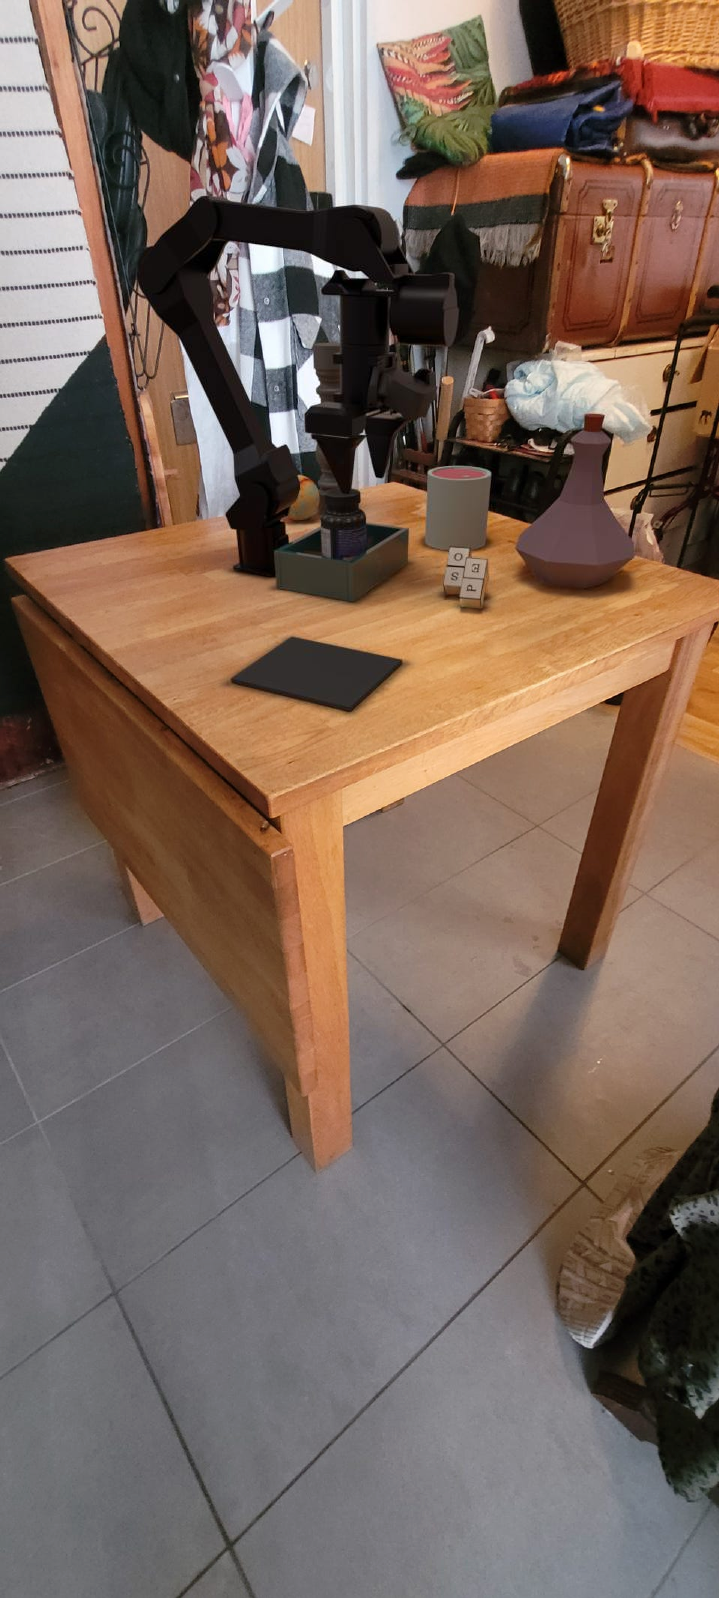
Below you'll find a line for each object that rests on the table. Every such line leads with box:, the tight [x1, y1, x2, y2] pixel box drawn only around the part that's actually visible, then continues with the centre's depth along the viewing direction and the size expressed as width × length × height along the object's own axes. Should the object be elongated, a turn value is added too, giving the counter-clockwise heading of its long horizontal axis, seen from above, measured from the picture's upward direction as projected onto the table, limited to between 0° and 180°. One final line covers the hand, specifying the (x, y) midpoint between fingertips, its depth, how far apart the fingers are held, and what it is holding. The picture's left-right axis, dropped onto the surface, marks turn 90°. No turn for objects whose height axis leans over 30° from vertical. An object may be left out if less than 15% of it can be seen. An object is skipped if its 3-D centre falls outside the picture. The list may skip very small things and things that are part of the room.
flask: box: [514, 413, 636, 590], centre depth 99 cm, size 16×16×20 cm
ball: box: [286, 474, 320, 521], centre depth 127 cm, size 7×7×7 cm
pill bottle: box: [319, 487, 367, 561], centre depth 103 cm, size 6×6×11 cm
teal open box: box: [274, 521, 410, 603], centre depth 104 cm, size 12×17×5 cm
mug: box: [424, 465, 492, 552], centre depth 117 cm, size 14×9×10 cm
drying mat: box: [230, 636, 403, 712], centre depth 81 cm, size 14×12×1 cm
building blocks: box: [442, 546, 490, 609], centre depth 97 cm, size 5×5×8 cm
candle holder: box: [312, 342, 340, 516], centre depth 125 cm, size 6×6×25 cm
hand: (363, 485), depth 97 cm, fingers open, 9 cm apart
